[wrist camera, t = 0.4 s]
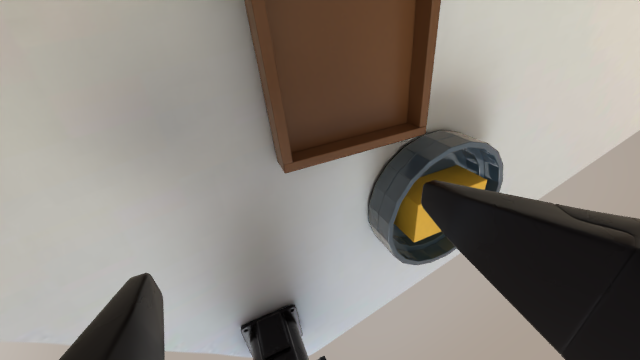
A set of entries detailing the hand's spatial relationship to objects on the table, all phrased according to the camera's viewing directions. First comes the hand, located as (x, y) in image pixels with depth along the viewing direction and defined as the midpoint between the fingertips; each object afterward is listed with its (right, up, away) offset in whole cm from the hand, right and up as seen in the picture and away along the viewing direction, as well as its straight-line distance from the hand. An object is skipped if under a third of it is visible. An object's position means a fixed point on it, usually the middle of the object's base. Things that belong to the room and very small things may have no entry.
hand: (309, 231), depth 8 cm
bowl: (+13, 0, +23) cm, 26 cm away
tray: (+2, +11, +12) cm, 17 cm away
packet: (+13, 0, +23) cm, 26 cm away
